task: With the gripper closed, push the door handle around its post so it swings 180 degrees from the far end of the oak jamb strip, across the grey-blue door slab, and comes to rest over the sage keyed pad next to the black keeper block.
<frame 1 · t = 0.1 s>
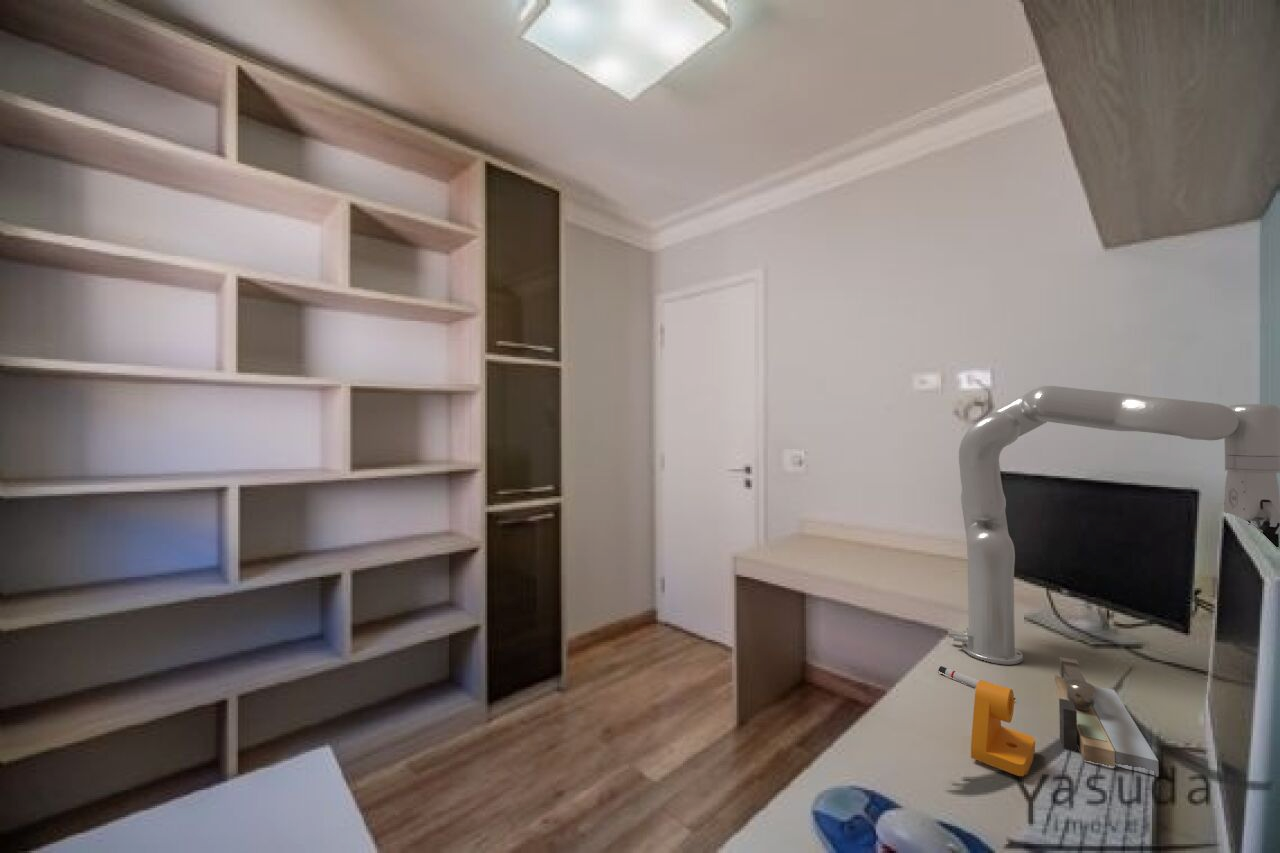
hand: (1253, 547, 107), 31 cm above the table, fingers open, 9 cm apart
doorframe: (1081, 724, 99), on the table
bracket: (1004, 758, 90), on the table
door handle: (1075, 681, 104), point 6 cm above the table, hinge at 0.0°
marker: (976, 689, 114), on the table
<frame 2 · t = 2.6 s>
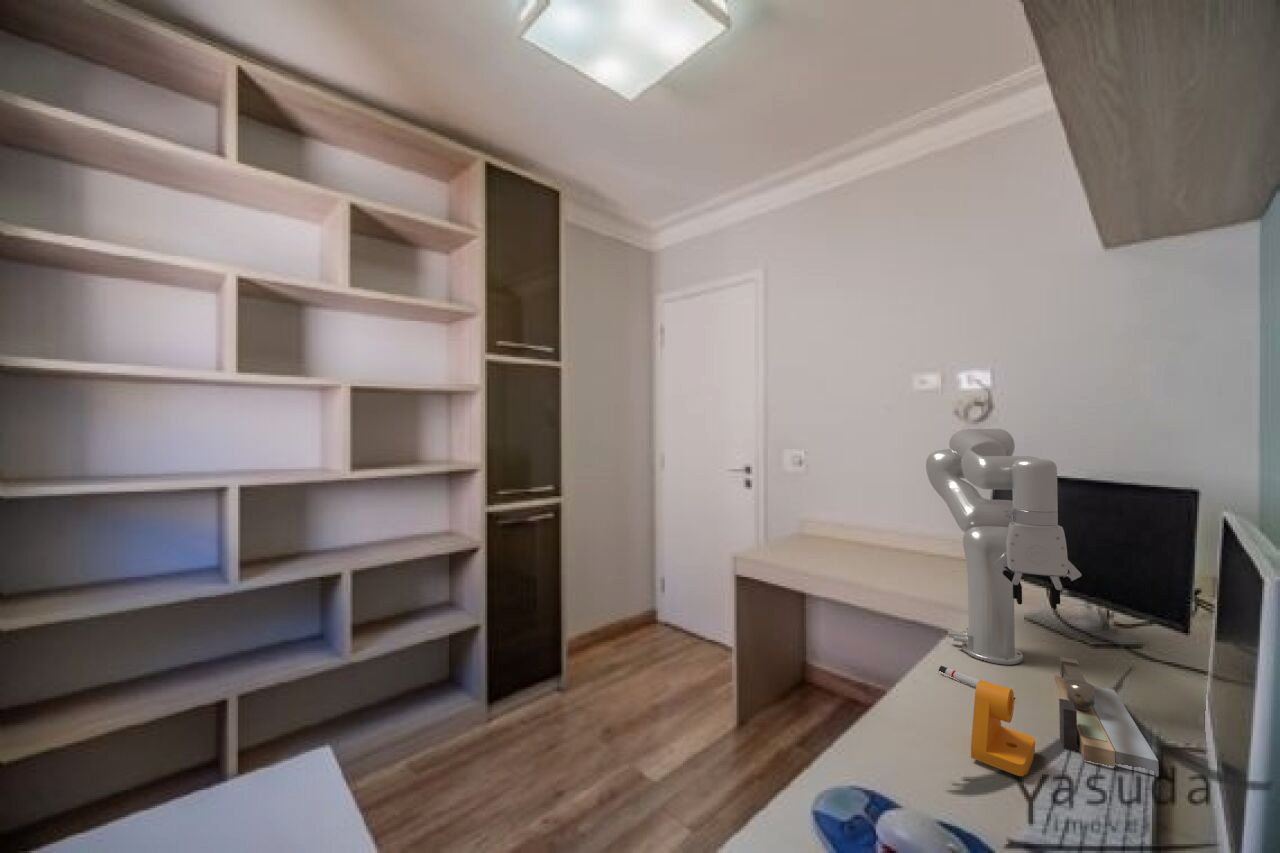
hand: (1036, 603, 109), 19 cm above the table, fingers open, 5 cm apart
nothing on the table moved.
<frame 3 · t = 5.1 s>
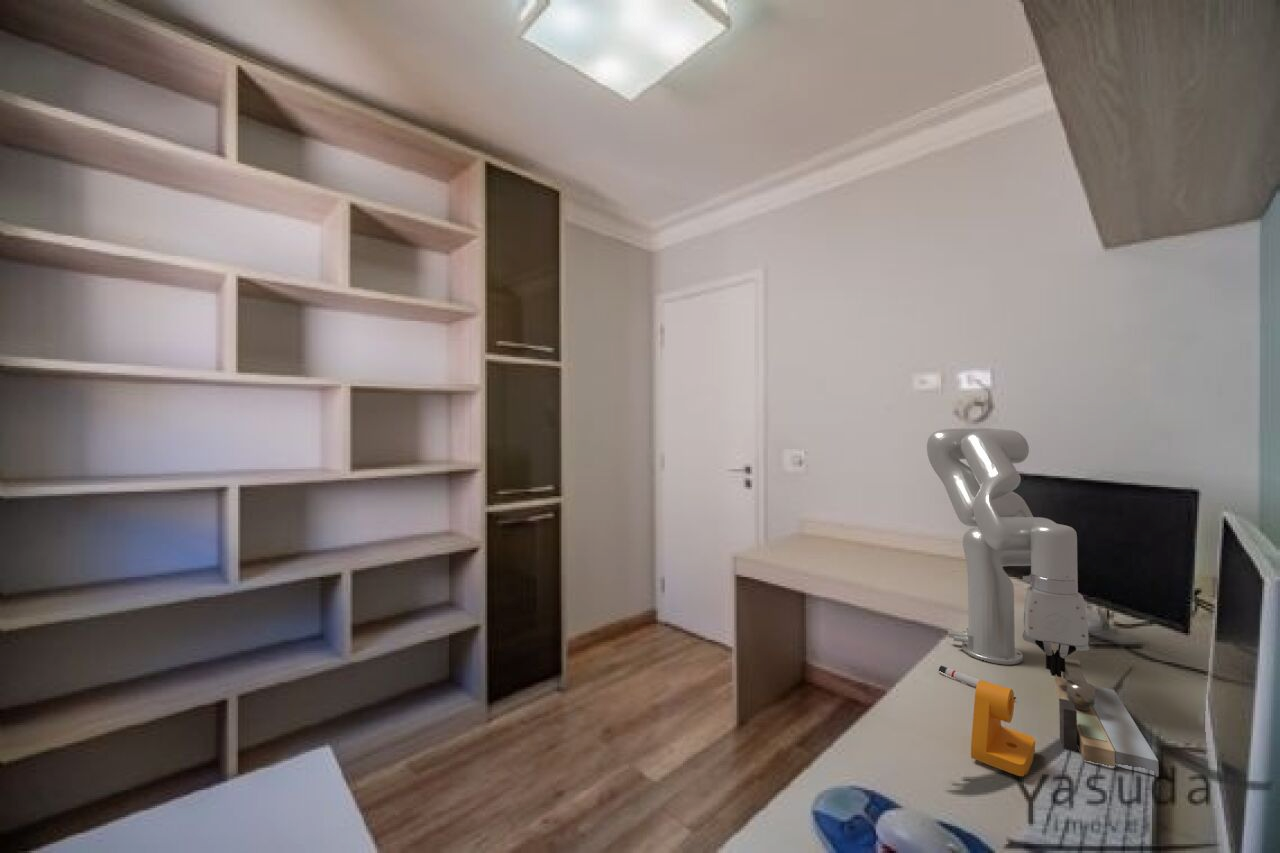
hand: (1055, 673, 108), 6 cm above the table, fingers closed
door handle: (1076, 681, 104), point 6 cm above the table, hinge at -1.8°, touching gripper
everything else where it was.
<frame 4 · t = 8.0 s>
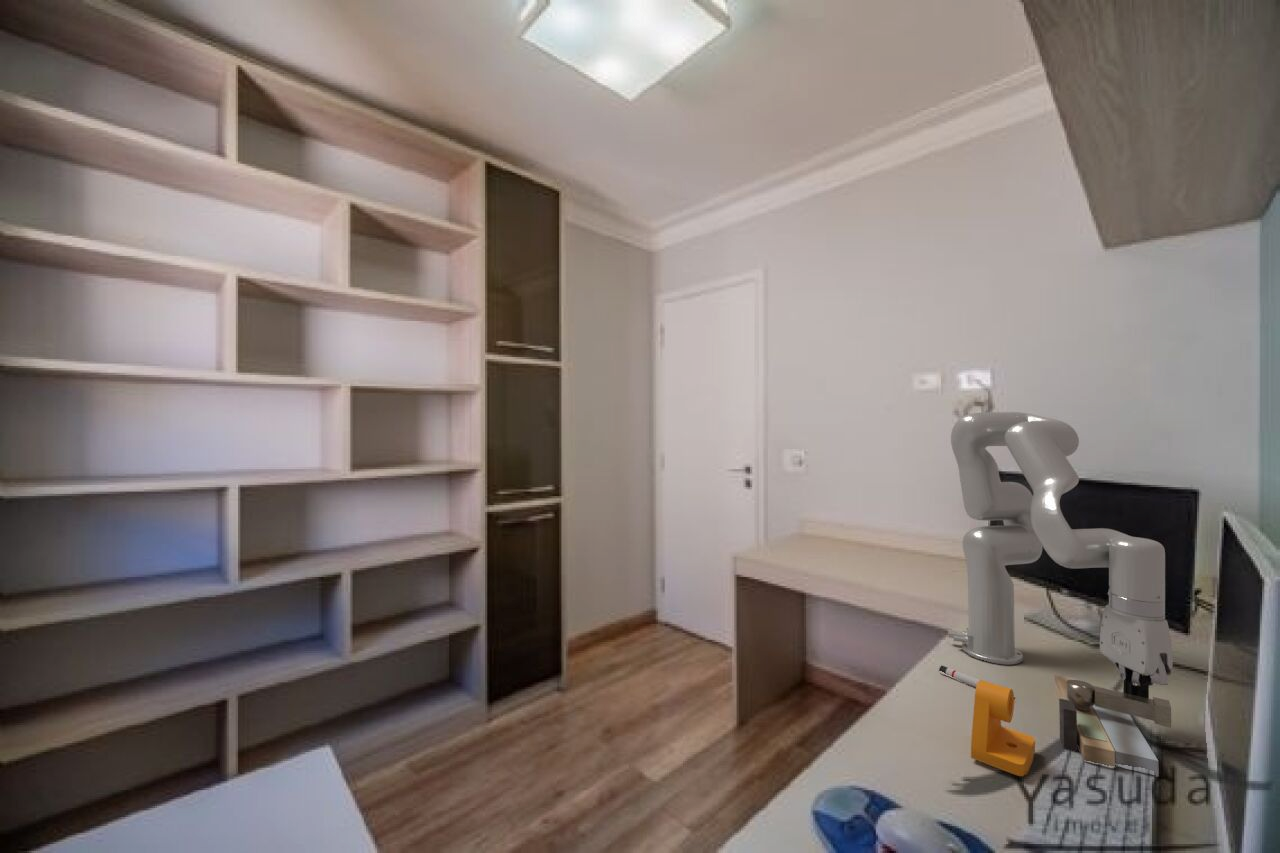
hand: (1135, 703, 97), 5 cm above the table, fingers closed
door handle: (1116, 701, 96), point 6 cm above the table, hinge at -99.2°, touching gripper
everything else where it was.
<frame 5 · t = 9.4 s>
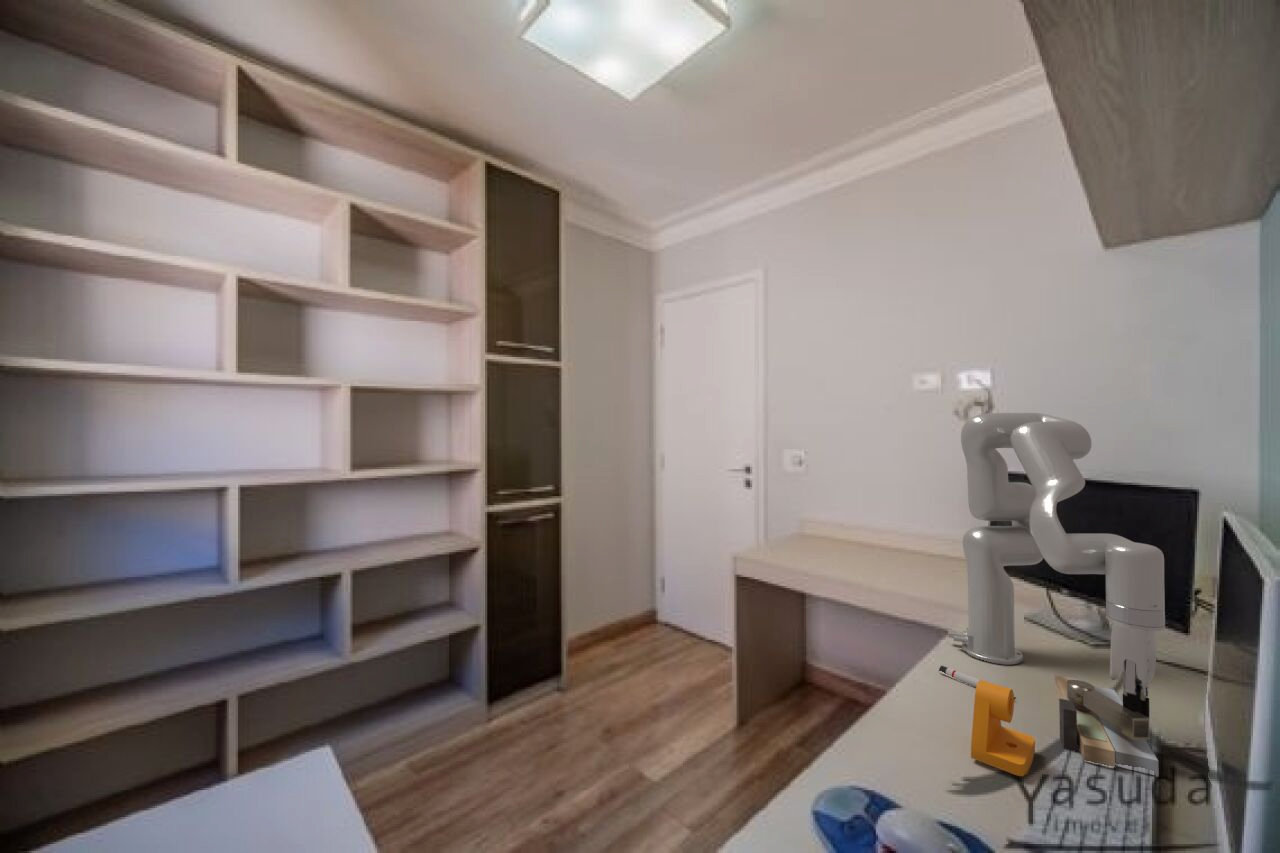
hand: (1136, 718, 92), 5 cm above the table, fingers closed
door handle: (1103, 706, 94), point 6 cm above the table, hinge at -149.6°, touching gripper
everything else where it was.
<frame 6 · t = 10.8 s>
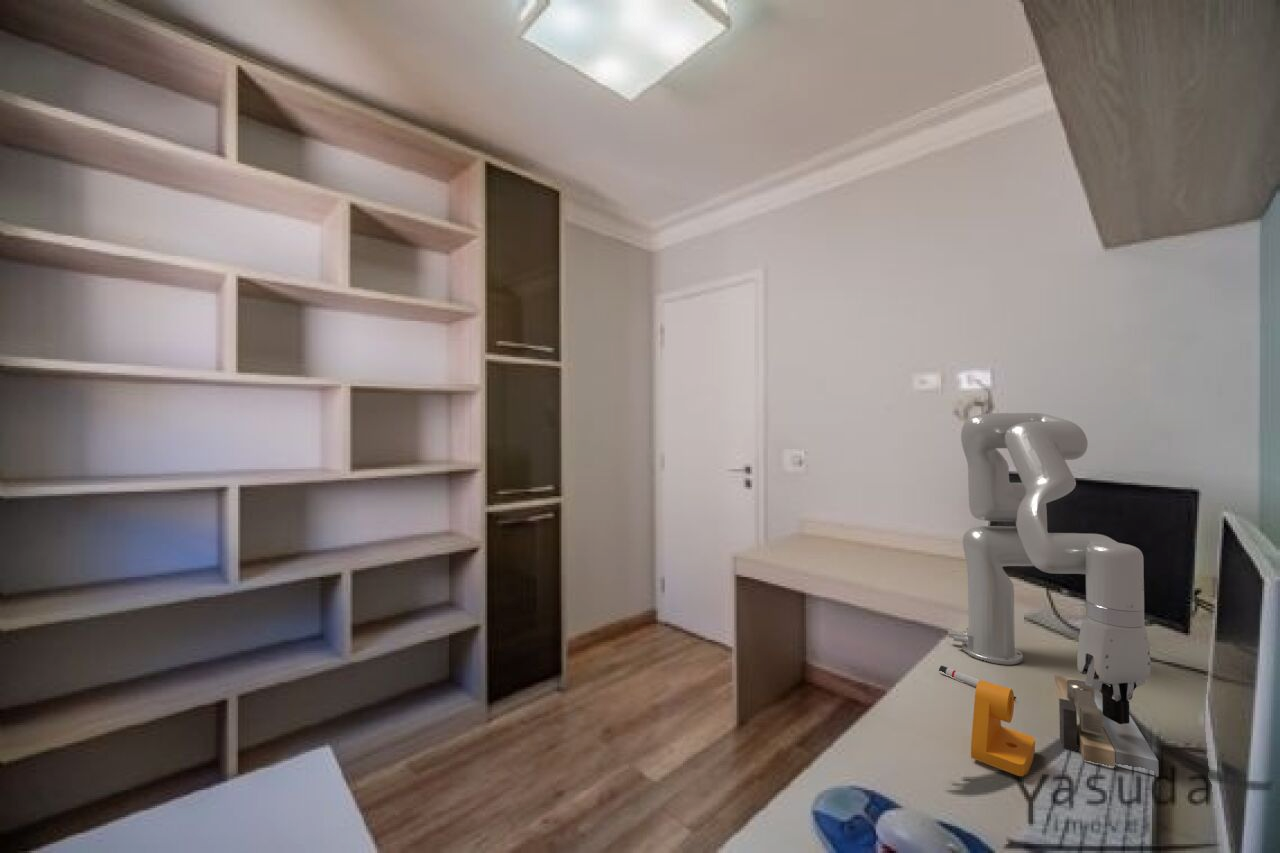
hand: (1115, 719, 91), 5 cm above the table, fingers closed
door handle: (1085, 704, 95), point 6 cm above the table, hinge at -182.4°
everything else where it was.
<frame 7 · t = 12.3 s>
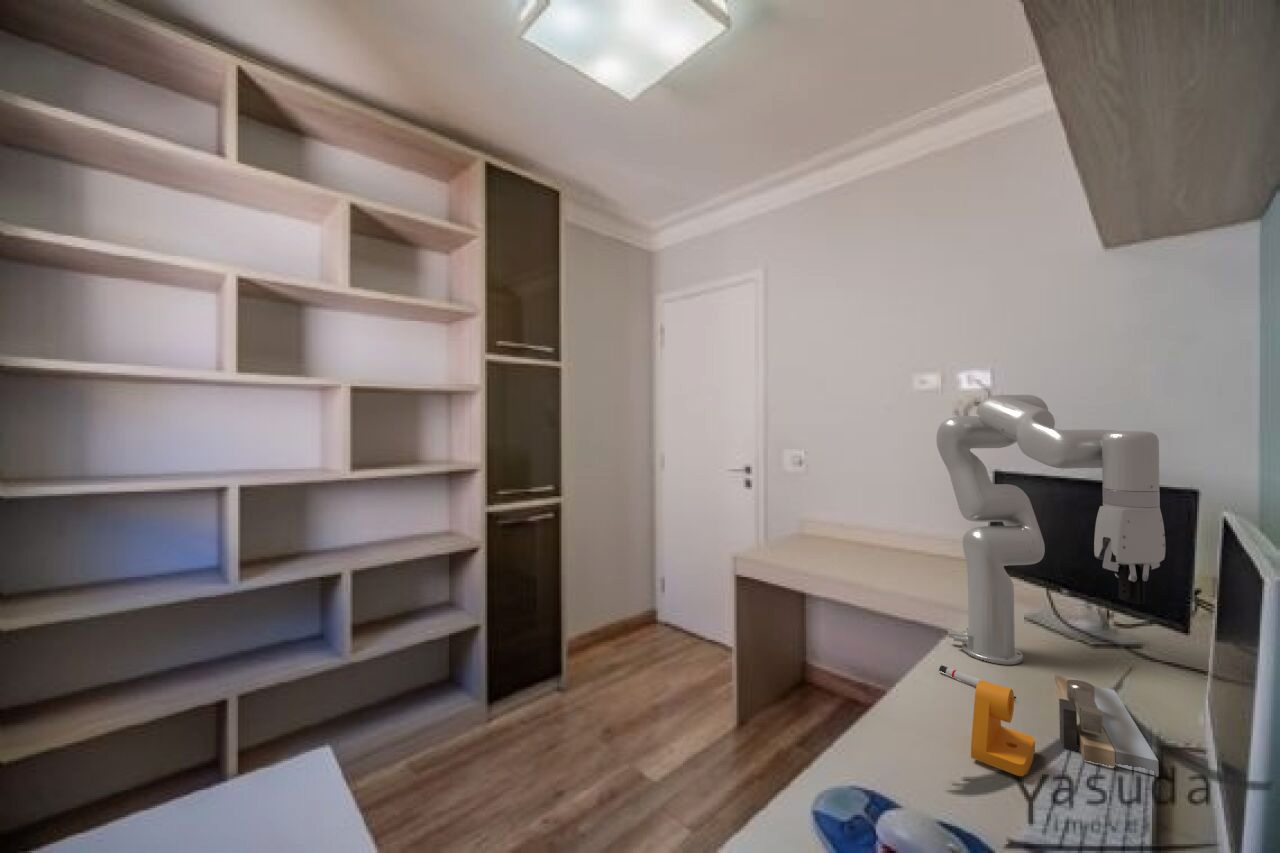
hand: (1131, 601, 94), 25 cm above the table, fingers closed
nothing on the table moved.
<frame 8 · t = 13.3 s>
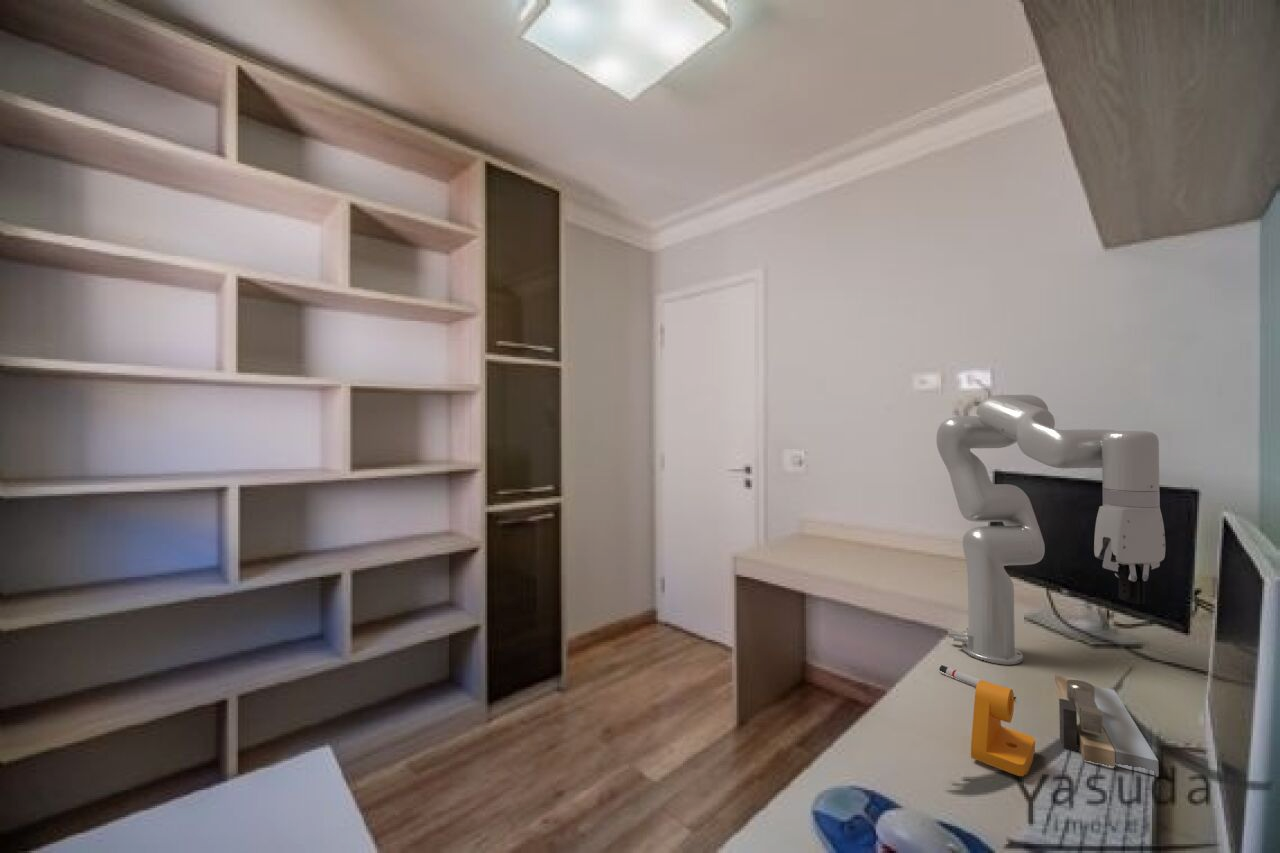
hand: (1131, 601, 94), 25 cm above the table, fingers closed
nothing on the table moved.
at the end: door handle at -182° (first picture: +0°) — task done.
